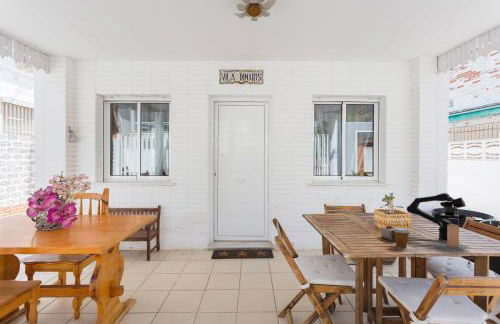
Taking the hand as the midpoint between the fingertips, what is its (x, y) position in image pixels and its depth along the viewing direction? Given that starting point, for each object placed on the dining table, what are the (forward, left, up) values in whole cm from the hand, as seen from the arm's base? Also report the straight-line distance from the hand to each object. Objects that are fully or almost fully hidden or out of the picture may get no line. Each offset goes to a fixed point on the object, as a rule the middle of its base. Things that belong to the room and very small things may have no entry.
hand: (450, 227), depth 204 cm
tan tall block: (+2, -3, -12) cm, 12 cm away
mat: (-1, -5, -12) cm, 13 cm away
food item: (-34, -19, -13) cm, 41 cm away
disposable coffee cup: (-20, -30, -13) cm, 38 cm away
